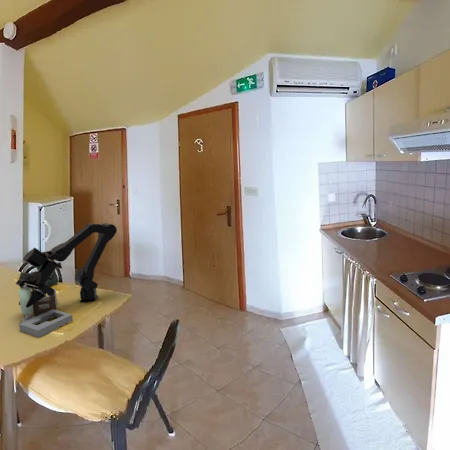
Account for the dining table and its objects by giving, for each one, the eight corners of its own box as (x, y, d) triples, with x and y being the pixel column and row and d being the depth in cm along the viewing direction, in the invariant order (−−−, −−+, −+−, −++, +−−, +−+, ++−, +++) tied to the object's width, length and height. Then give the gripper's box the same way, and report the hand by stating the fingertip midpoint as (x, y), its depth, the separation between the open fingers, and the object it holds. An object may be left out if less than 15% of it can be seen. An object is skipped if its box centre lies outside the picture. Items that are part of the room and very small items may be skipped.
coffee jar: (54, 281, 191) (50, 249, 188) (59, 284, 186) (55, 251, 182) (35, 285, 184) (31, 252, 181) (40, 289, 179) (36, 255, 175)
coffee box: (55, 287, 163) (56, 299, 149) (57, 300, 164) (57, 313, 150) (33, 291, 159) (32, 303, 145) (35, 304, 160) (34, 317, 146)
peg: (37, 318, 146) (33, 287, 143) (31, 323, 141) (27, 291, 138) (25, 318, 145) (21, 287, 143) (19, 323, 141) (15, 291, 138)
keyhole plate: (53, 315, 148) (53, 309, 147) (72, 321, 142) (72, 314, 142) (19, 330, 135) (18, 323, 134) (39, 337, 129) (38, 330, 129)
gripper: (17, 261, 146) (-7, 294, 139) (45, 266, 138) (22, 302, 130) (36, 273, 155) (15, 305, 147) (64, 279, 146) (43, 313, 139)
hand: (23, 306), depth 141 cm, fingers closed on peg, 4 cm apart
